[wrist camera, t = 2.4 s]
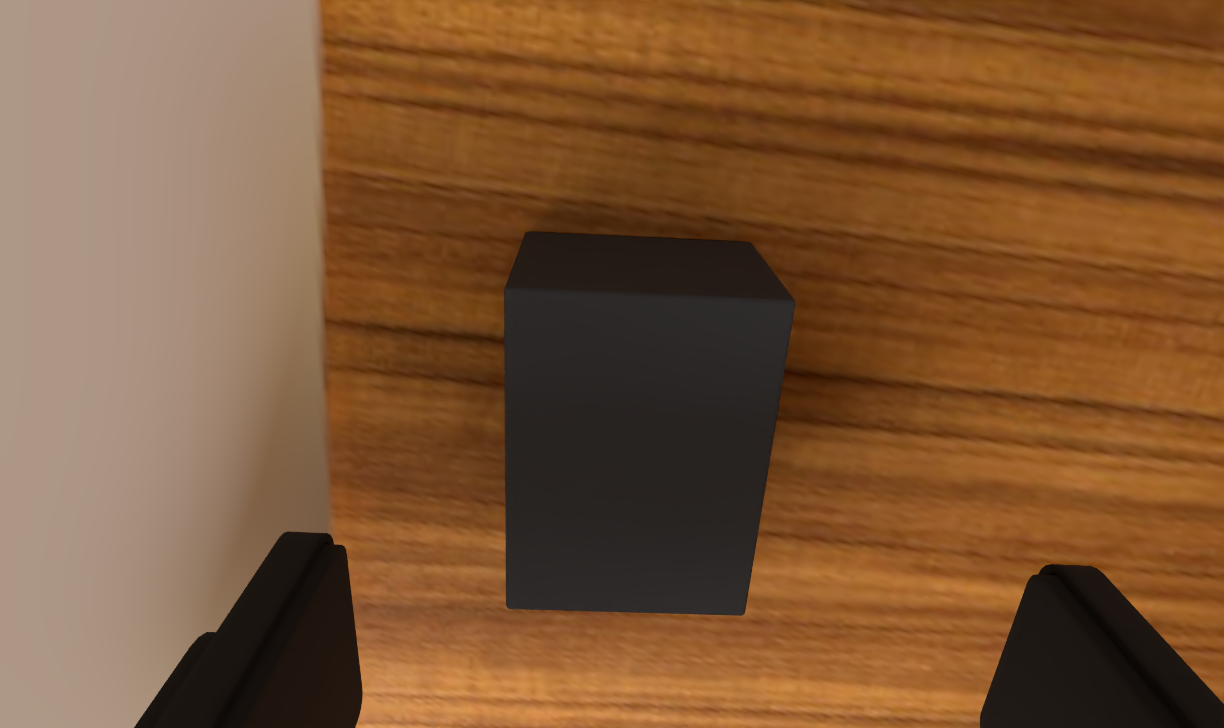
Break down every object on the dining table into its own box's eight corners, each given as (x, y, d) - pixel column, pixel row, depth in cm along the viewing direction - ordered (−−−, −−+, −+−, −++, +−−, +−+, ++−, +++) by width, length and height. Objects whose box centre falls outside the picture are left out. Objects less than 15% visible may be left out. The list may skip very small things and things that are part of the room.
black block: (523, 499, 19) (505, 610, 15) (525, 230, 16) (503, 287, 12) (716, 506, 19) (745, 617, 15) (752, 241, 16) (797, 300, 12)
